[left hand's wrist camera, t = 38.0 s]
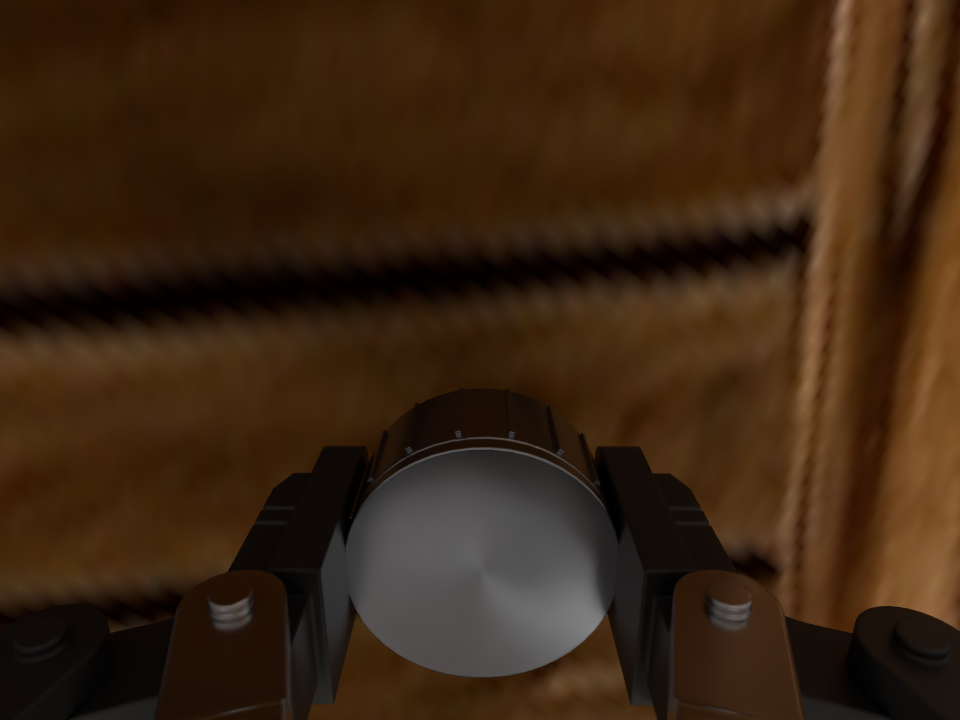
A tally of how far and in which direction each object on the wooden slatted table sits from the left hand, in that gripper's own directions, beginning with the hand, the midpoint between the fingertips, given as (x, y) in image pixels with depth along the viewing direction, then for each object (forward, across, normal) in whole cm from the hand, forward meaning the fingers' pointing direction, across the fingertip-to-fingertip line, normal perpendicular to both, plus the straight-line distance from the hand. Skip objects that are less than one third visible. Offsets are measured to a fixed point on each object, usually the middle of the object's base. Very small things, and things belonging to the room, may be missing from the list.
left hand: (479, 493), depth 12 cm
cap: (-2, 0, 0) cm, 2 cm away
